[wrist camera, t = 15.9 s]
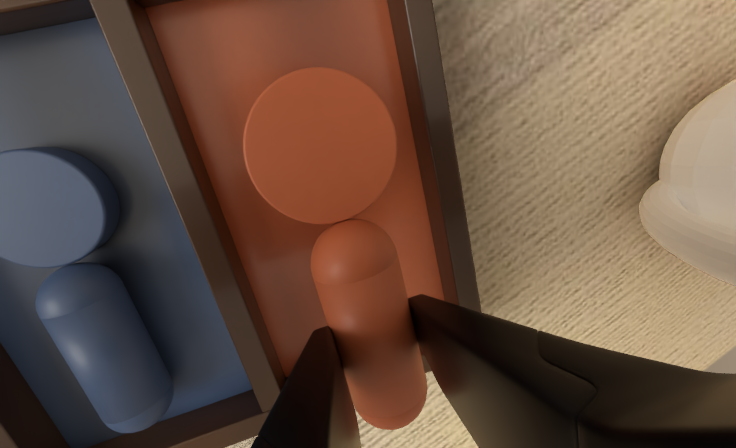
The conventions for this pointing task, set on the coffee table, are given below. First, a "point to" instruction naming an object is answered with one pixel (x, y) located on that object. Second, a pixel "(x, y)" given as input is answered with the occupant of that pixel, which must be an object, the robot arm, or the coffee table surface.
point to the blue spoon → (81, 282)
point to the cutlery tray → (211, 194)
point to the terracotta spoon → (343, 226)
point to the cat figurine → (698, 188)
